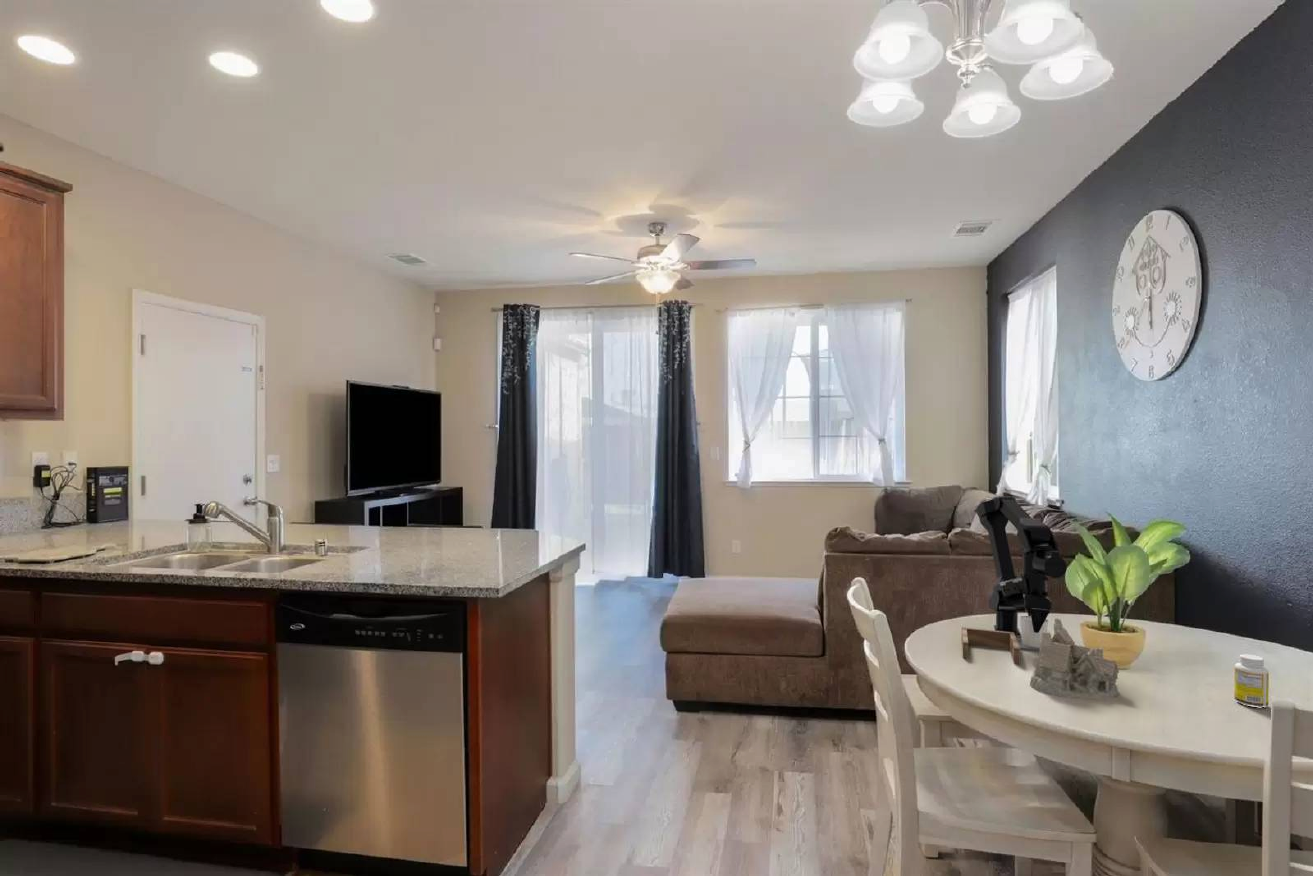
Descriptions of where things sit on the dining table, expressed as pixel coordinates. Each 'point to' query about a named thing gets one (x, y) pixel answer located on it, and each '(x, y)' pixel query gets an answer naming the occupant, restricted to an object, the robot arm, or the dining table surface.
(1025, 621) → the white cup
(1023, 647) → the coaster
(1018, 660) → the brown wooden u-shaped piece
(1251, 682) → the supplement bottle
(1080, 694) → the ceramic cottage
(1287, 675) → the dining table surface
